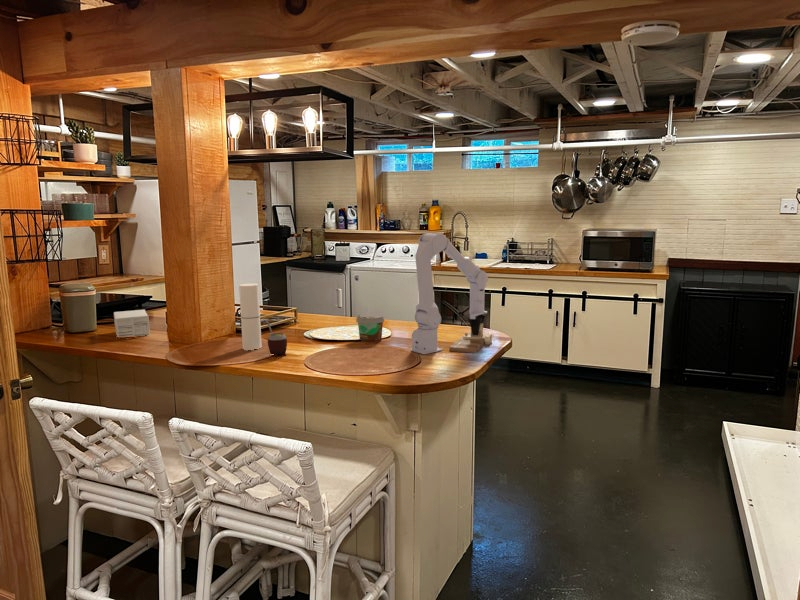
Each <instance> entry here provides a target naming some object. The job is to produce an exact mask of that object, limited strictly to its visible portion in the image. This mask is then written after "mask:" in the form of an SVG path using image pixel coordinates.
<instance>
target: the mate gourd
mask: <svg viewBox="0 0 800 600" xmlns="http://www.w3.org/2000/svg"><path fill="white" fill-rule="evenodd" d="M261 319H262V320H263V321H264V322H265V323H266V325H267V327H268V329H269V331H270V334H269V336H268V337H267V347H268V350H269V355H270V354H274V355H275V356H273V358H274V357H276V358H278V357H286V356H287V354H286V353H287V346H288V339H287V335H285V334H284V333H282V332H273V330H272V328H271V324H270V322H269V321H268V320H267V319H265V318H263V317H261ZM277 356H278V357H277Z"/></svg>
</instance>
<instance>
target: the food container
mask: <svg viewBox="0 0 800 600" xmlns="http://www.w3.org/2000/svg"><path fill="white" fill-rule="evenodd" d="M355 321H356V323H357V326H358V335H359V336H358V337H359V340H360V339H361V341H360V342H362V343H378V342H382V339H383V327H384V326H383V325H384V323H385V318H384V317H383V316H381V317H374V316H360V314H358V315H357V316H356V320H355Z"/></svg>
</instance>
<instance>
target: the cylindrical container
mask: <svg viewBox="0 0 800 600" xmlns="http://www.w3.org/2000/svg"><path fill="white" fill-rule="evenodd" d="M238 285H239V287H238V290H239V305H240V323H241V325H240V326H241V339H242V341H241V343H242V350H243V349H244V350H243V351H248V350H251V351H255V350H254V349H258V350H260V349H259V348H261V347H262V345H263V344H262V330H261V310H260V308H261V306H260V289H259V288H260V287H259V283H242V284H238ZM262 348H263V347H262ZM262 348H261V349H262Z"/></svg>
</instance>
